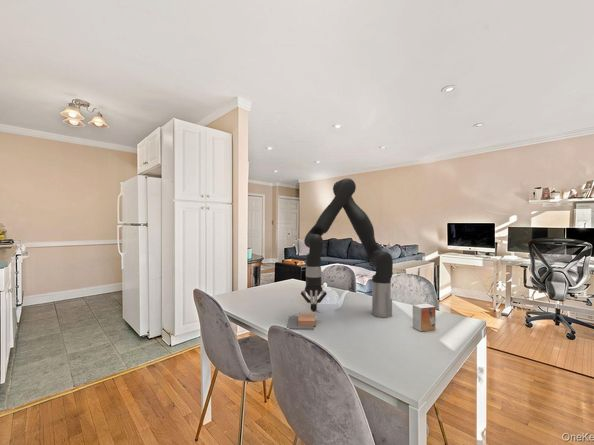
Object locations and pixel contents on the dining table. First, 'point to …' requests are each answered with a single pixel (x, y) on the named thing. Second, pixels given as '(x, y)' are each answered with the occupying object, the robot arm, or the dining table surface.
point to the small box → (424, 317)
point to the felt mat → (296, 323)
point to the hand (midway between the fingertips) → (313, 311)
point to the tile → (306, 319)
